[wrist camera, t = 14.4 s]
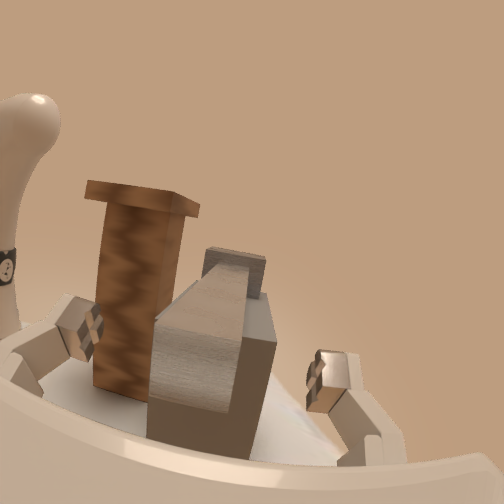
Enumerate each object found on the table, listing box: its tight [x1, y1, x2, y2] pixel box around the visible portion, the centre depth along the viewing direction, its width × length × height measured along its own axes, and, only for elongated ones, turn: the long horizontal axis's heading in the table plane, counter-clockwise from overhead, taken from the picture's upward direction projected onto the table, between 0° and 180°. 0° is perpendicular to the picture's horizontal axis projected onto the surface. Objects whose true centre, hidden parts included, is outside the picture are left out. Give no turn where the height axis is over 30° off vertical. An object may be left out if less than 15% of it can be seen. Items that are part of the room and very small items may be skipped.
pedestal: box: [146, 280, 277, 460], centre depth 28 cm, size 8×16×17 cm, turn 0°
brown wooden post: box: [84, 180, 200, 402], centre depth 39 cm, size 10×16×26 cm, turn 0°
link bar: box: [149, 247, 266, 413], centre depth 23 cm, size 6×26×4 cm, turn 0°
